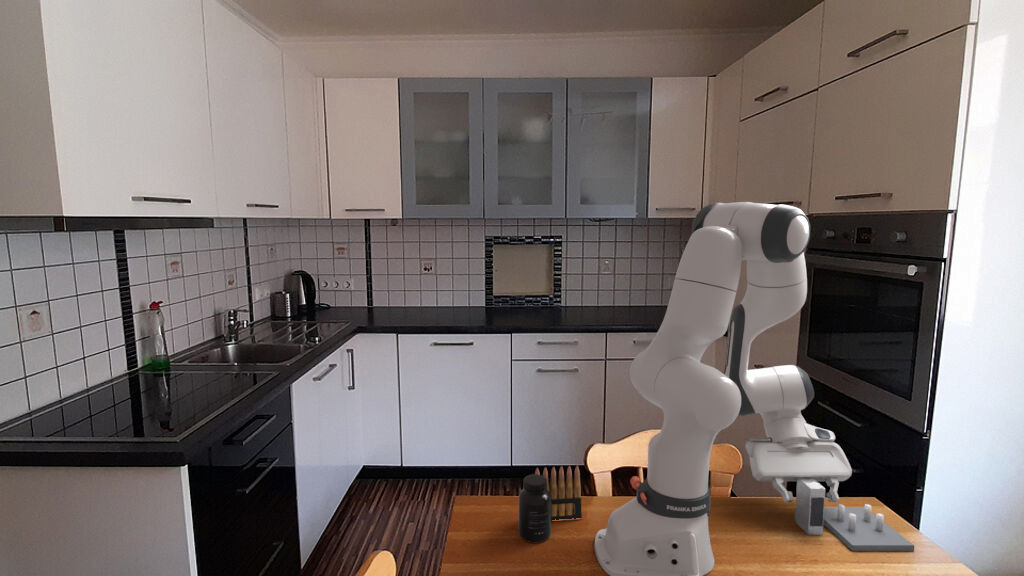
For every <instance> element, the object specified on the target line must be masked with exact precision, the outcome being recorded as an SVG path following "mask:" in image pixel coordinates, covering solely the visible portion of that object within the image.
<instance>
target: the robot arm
mask: <svg viewBox="0 0 1024 576" xmlns="http://www.w3.org/2000/svg"><path fill="white" fill-rule="evenodd" d="M810 239H811V224H810V220H809V218H808V217H807V216H806V214H805V213H804V212H803V210H802V209H800V208H799V207H796V206H792V205H789V204H788V205H787V204H783V203H782V204H770V203H760V202H759V203H758V202H754V201H753V202H752V201H737V202H728V203H727V202H726V203H724V202H717V203H711V204H708V205H705V206H703V207H702V208H701V209H700V210H699V211H698V213H697V214H696V215H695V216H694V219H693V221H692V225H691V235H690V237H689V239H688V241H687V243H686V246H685V247H684V250H683V253H682V255H681V258H680V261H679V263H678V267H677V270H676V273H675V278H674V280H673V286H672V289H671V293H670V296H669V299H668V300H669V301H668V304H667V309H666V311H665V315H664V317H663V321H662V322H661V324H660V327H659V329H658V330H657V332H656V333H655V336H654V337H653V339H652V340H651V342H650V344H649V345H648V346H647V347H646V348H645V349H644V350H642V351H641V352H640V353H637V355H636V356H635V357H634V359H633V360H632V362H631V364H630V369H629V379H630V382H631V384H632V386H633V387H634V388H635V390H636V391H637V392H638V394H640V395H641V396H642V397H643V398H644V400H646V401H647V402H649V403H651V404H652V405H654V406H656V407H658V408H660V409H661V410H662V412H663V422H662V426H661V429H660V432H658V433H656V434H655V435H653V436H652V437H651V438H650V440H649V441H648V445H647V447H648V448H647V475H646V476H647V477H646V479H644V481H641V479H640V477H639V476H636V475H635V476H632V477H631V478H630V480H629V482H630V485H631V487H632V489H634V490H635V491H636V496H635V497H634V498H632V499H630V501H629V500H628V501H627V502H626V503H624V504H623V505H621V506H619V507H618V508H616V509H614V510H613V511H612V512H611V513H610V515H609V517H608V521H607V523H606V528H601V529H599V530H598V531H597V532H596V534H595V536H594V537H595V538H594V543H593V544H594V554H595V557H596V559H597V561H598V563H599V565H600V566H601V568H602V569H603V571H604V572H606V574H608V576H705V575H707V574H709V573H710V572H711V571H712V569H714V566H715V562H716V561H715V557H714V553H713V549H712V544H711V540H710V539H711V538H710V531H709V530H710V528H709V517H710V511H711V488H710V486H709V473H710V472H709V471H710V458H711V451H712V447H713V444H714V441H715V439H716V437H717V435H718V434H719V433H720V431H722V430H723V431H724V430H725V429H727V428H728V427H730V426H731V424H733V423H734V422H735V420H736V419H738V418H737V417H738V416H739V417H741V418H742V417H746V416H752V415H756V414H759V415H760V416H761V418H762V420H763V430H764V431H765V435H766V437H750V438H749V439H748V440H746V442H745V444H744V446H745V450H746V452H747V455H748V457H749V464H750V468H751V469H750V470H751V474H752V477H753V478H754V479H755V480H756V481H757V482H771V484H772V487H773V488H774V489H775V491H777V492H778V493H779V494H780V495H781V497H782V501H783V503H792V502H795V501H794V500H795V498H794V496H793V491H792V490H791V491H790V490H789V491H788V490H787V489H786V488H785V486H784V485H783V484H784V482H797V477H812V478H813V479H814V480H816V481H817V482H825V483H826V485H827V486H828V487H829V488H830V489H829V491H828V492H827V493H825V497H826V498H827V501H828V502H829V503H838V502H840V497H839V494H838V488H839V484H840V482H844V481H847V480H849V478H850V477H852V474H853V469H852V467H851V464H850V462H849V459H848V458H847V456H846V454H845V452H844V450H843V449H842V448H841V446H840V444H838V443H836V442H835V440H836V435H835V433H834V432H833V431H831V430H829V429H824V428H821V427H817V426H815V425H812V424H809V423H807V421H806V420H805V418H804V416H803V415H802V412H801V411H803V410H805V409H806V408H807V407H808V405H810V404H811V402H812V401H813V399H814V398H815V389H814V386H813V384H812V381H811V379H810V376H809V375H808V372H806V371H805V370H804V369H802V367H799V366H798V365H795V364H787V365H786V364H785V365H776V366H775V365H774V366H771V367H763V368H754V369H748V368H749V360H750V353H751V351H750V350H751V345H752V342H753V341H754V340H755V338H756V337H757V336H759V335H760V334H762V333H763V332H765V331H766V330H768V329H770V328H772V327H774V326H776V325H778V324H780V323H782V322H785V321H787V320H789V319H791V318H792V317H793V316H795V315H796V314H797V313H798V312H799V311H800V310H802V308H803V306H804V305H805V303H806V301H807V294H808V277H807V276H808V275H807V266H806V258H805V251H806V249H807V247H808V244H809V242H810ZM742 261H746V281H747V282H746V284H747V286H746V291H745V294H744V296H743V298H742V300H741V301H740V303H739V304H738V305H736V306H734V303H735V300H736V295H737V291H738V287H739V283H740V277H741V271H742V269H741V268H742ZM728 327H729V328H728ZM728 329H729V330H728ZM727 331H728V338H727V346H726V347H727V348H726V355H725V356H726V357H725V366H724V370H723V373H722V371H720V370H719V369H718V368H715V367H713V366H710V365H708V364H705V363H702V362H701V360H702V357H703V355H704V353H705V352H706V350H707V349H708V347H709V346H710V345H711V344H713V342H714V341H716V340H717V339H720V338H722V337H723V336H724V335H725V334H726V332H727Z"/></svg>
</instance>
